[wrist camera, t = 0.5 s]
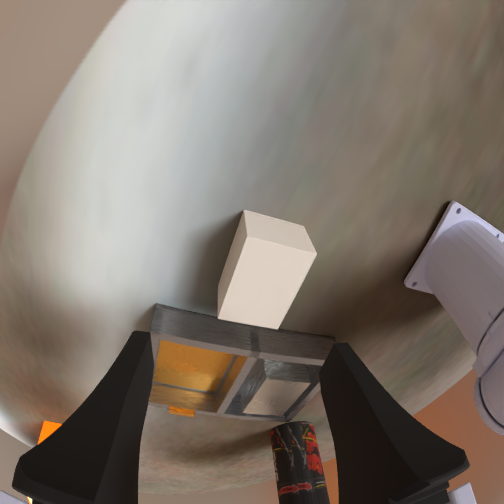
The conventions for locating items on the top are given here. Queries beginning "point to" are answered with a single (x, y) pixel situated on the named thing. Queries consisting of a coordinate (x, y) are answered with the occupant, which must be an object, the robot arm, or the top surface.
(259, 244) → the off-white upright block
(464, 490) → the robot arm
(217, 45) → the top surface
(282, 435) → the deodorant
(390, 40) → the top surface
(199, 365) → the rack
